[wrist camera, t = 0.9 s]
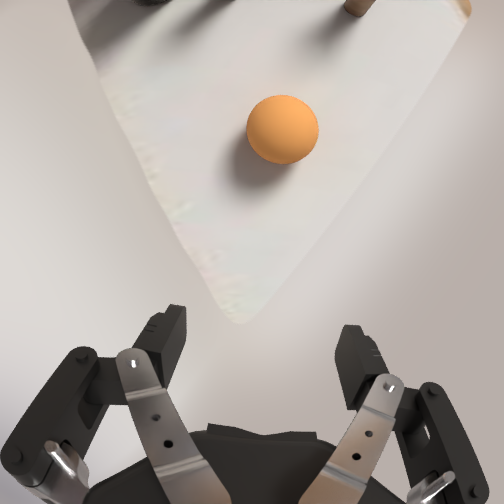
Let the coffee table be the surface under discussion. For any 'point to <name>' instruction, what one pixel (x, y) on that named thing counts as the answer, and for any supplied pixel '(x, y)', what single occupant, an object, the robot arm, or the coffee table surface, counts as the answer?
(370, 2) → the post
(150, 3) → the supplement bottle
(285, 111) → the ball
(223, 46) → the coffee table surface
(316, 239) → the coffee table surface
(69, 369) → the robot arm
